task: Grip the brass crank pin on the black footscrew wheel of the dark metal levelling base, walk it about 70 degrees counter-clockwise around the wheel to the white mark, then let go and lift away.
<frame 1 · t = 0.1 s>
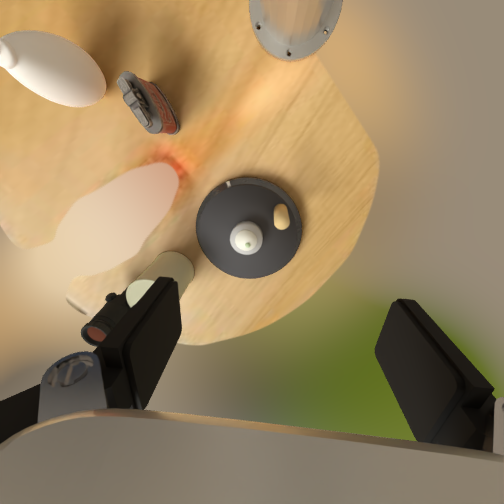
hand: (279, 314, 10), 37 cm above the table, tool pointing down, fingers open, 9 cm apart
sauce bottle: (96, 83, 39), on the table
lighter: (163, 110, 40), on the table
can: (174, 269, 53), on the table
scope: (136, 296, 58), on the table
levelling base: (248, 231, 48), on the table
footscrew wheel: (245, 241, 43), point 6 cm above the table, hinge at 0.0°
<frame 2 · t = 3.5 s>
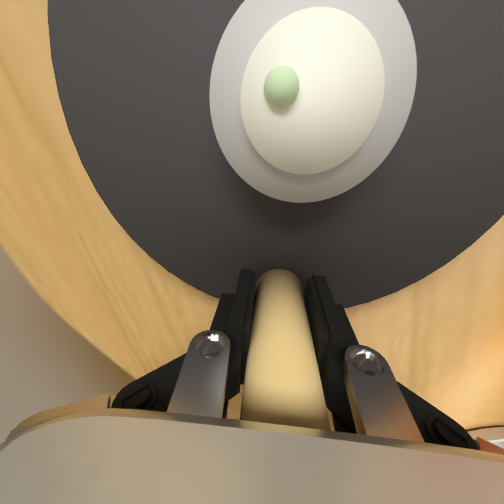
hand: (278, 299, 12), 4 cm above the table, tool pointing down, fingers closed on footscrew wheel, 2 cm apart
footscrew wheel: (311, 99, 6), point 6 cm above the table, hinge at 0.0°, touching gripper
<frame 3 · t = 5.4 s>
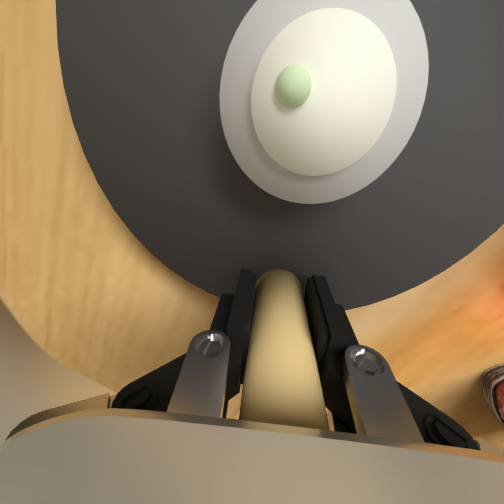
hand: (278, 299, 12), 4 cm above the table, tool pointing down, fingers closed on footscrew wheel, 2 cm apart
footscrew wheel: (323, 100, 6), point 6 cm above the table, hinge at 34.8°, touching gripper
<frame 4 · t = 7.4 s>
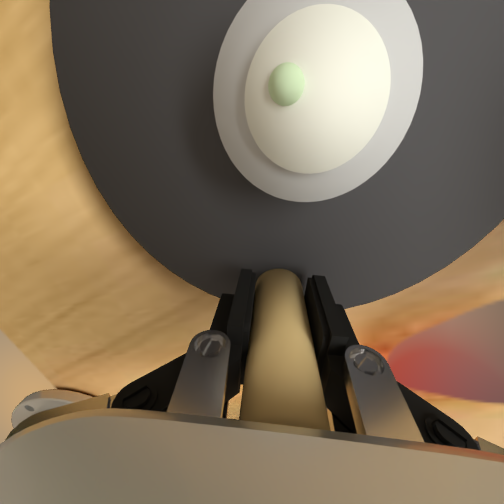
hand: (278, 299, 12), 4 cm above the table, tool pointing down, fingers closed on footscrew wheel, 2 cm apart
footscrew wheel: (317, 97, 6), point 6 cm above the table, hinge at 69.2°, touching gripper
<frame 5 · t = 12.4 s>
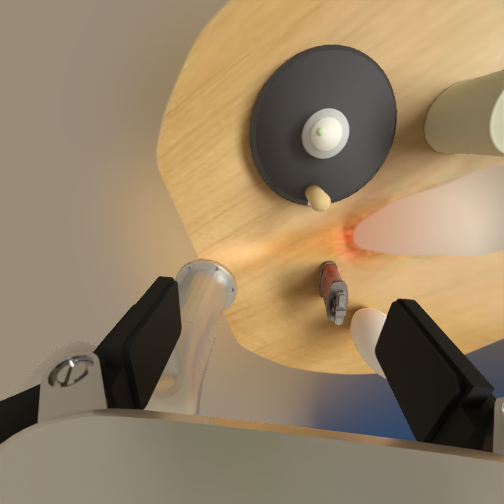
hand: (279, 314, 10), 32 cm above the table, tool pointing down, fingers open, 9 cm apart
sauce bottle: (363, 312, 49), on the table
lighter: (327, 278, 46), on the table
can: (458, 119, 34), on the table
levelling base: (319, 135, 36), on the table
footscrew wheel: (327, 134, 31), point 6 cm above the table, hinge at 69.2°
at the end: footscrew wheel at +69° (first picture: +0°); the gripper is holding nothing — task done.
